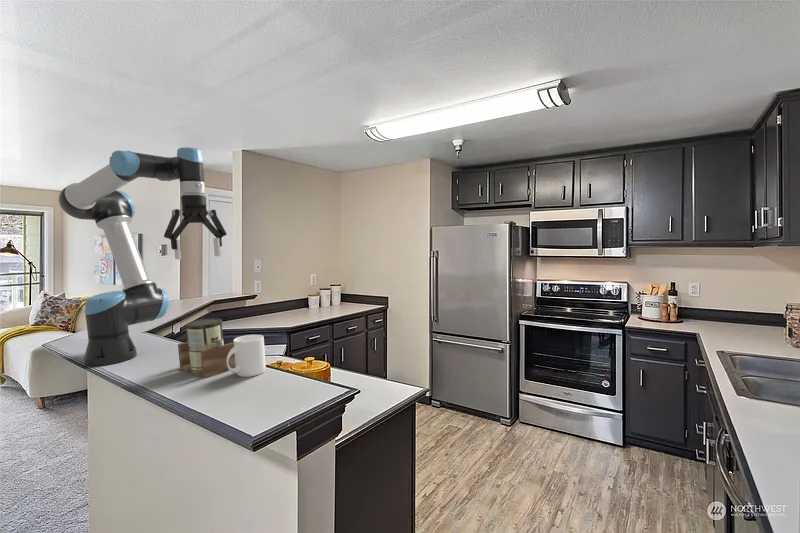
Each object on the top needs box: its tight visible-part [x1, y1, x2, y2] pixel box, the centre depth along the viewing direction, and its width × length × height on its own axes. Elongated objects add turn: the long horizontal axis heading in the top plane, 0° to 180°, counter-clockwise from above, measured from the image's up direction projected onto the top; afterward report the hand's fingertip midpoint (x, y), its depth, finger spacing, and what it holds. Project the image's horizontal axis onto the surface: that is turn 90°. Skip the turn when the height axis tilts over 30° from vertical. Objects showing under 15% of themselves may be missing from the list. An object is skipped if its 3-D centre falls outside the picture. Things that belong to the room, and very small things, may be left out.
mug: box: [227, 334, 266, 378], centre depth 122 cm, size 9×12×11 cm
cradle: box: [177, 340, 235, 379], centre depth 130 cm, size 16×11×10 cm
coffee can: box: [185, 317, 225, 370], centre depth 129 cm, size 10×10×14 cm
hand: (198, 257), depth 139 cm, fingers open, 13 cm apart
